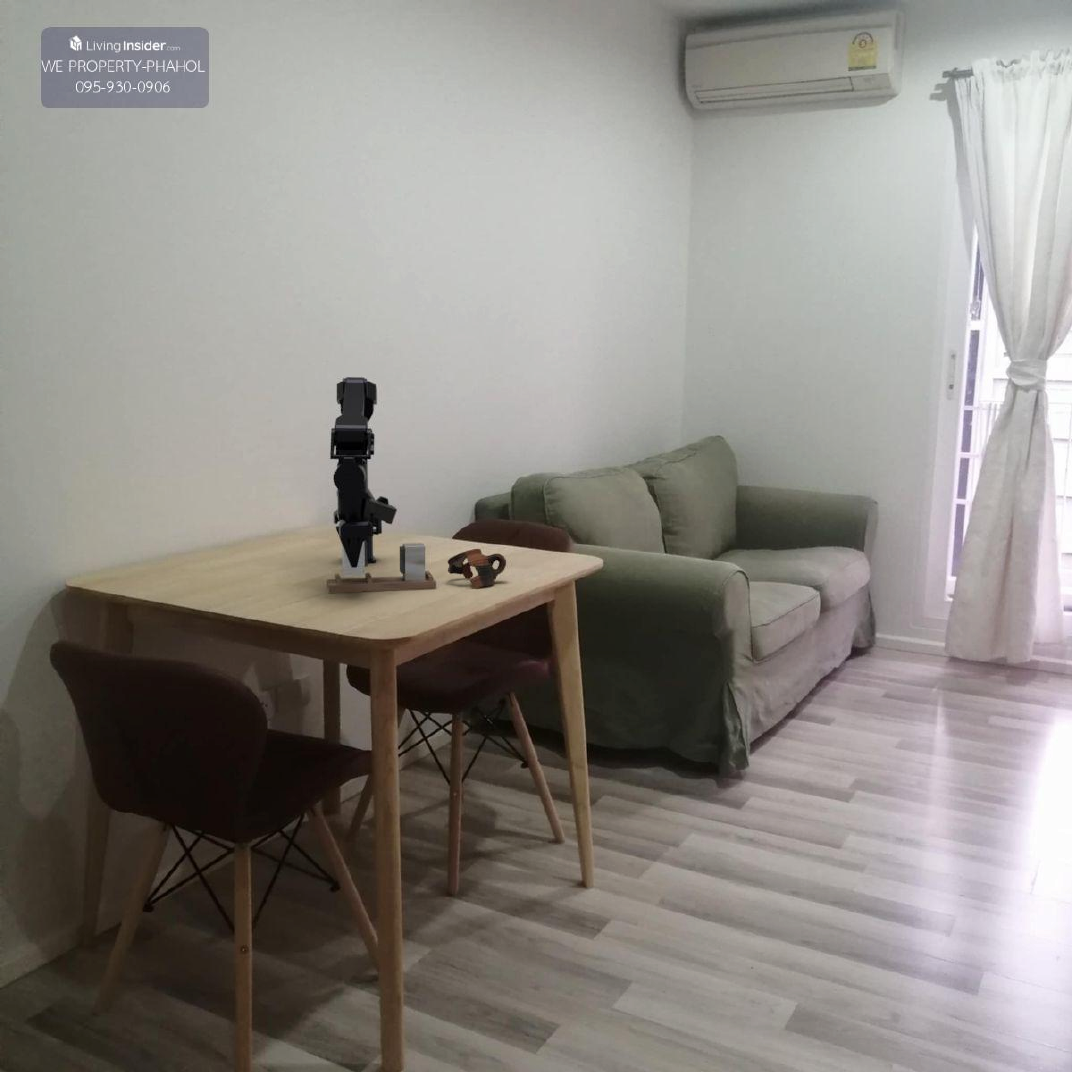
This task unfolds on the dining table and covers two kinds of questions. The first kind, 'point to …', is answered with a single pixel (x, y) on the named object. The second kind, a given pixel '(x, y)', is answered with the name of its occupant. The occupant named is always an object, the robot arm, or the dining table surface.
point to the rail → (411, 579)
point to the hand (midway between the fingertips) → (353, 565)
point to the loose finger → (361, 563)
